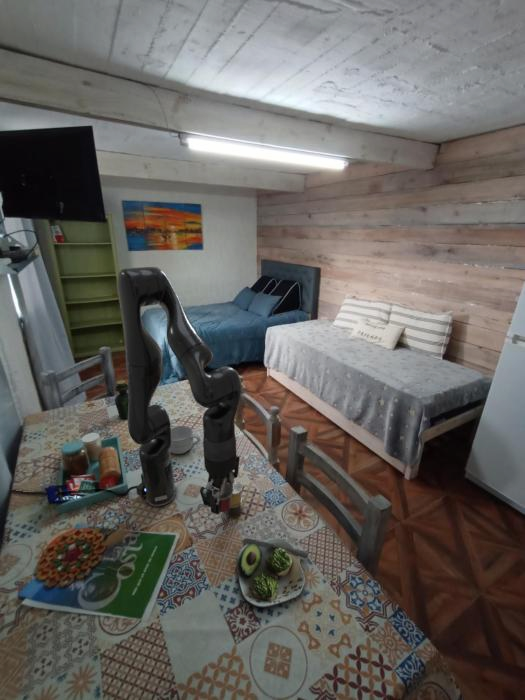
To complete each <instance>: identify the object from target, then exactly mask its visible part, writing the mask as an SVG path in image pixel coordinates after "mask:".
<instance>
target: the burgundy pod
mask: <svg viewBox="0 0 525 700" xmlns="http://www.w3.org/2000/svg"><path fill="white" fill-rule="evenodd" d="M214 488H216V487H214ZM216 489H218V488H216ZM218 490H219V489H218ZM232 494H233V486H232V485H231V484H230V483H229V482H226V483H225V484H224V489H223V494H221V495H220V501H219V502H220V513H227V512H226V511H228V510H229V509H230V508H231V506H232ZM213 497H215V498H216V495H215V494H213Z"/></svg>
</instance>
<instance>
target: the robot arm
mask: <svg viewBox="0 0 525 700" xmlns="http://www.w3.org/2000/svg"><path fill="white" fill-rule="evenodd" d="M116 281H117V283H116V284H117V285H116V286H117V296H118V301H119V307H120V312H121V319H122V325H123V334H124V348H125V349H124V350H125V367H126V368H125V369H126V377H127V385H128V390H127V393H128V395H129V402H128V419H127V429H128V433H129V437H130V438H131V439H132V441H133V442H134V443H135V444H137V445H140V446H139V449H138V455H139V461H140V467H141V472H142V473H140V479H141V483H139V484H138V485H133V486H131V487H128V488H127V490H126V491H118V490H116V491H115V492H112V493H113V494H116V495H119V496H122V495H127V494H129V493H130V492H131V490H136V495H137V496H140V497H142V498H143V497H144V498H145V499H146V502H147V504H148V505H150V506H151V507H156V508H157V507H164V506H165V505H168V504H169V503H171V502H172V501H173V500H174V499H175V498H176V494H177V490H176V484H175V476H174V467H173V460H172V454H171V453H172V452H170V447H171V428H172V427H171V420H170V416H169V414H168V412H167V410H166V408H164V407H163V406H162V405H160V404H152V405H151V402H152V399H153V398H154V395H155V393H156V391H157V389H158V387H159V385H160V383H161V380H162V377H163V372H164V371H163V369H164V367H163V366H164V365H163V364H164V363H163V352H162V348H161V347H160V345H159V343H157V341H156V339H155V338H153V336H152V335H151V334H150V333H149V332H148V330H147V329H146V327H145V325H144V322H143V319H142V308H143V307H149V306H156V305H159V306H160V307H162V309H163V310H164V313H165V314H166V340H167V343H168V346H169V349H170V350H171V352H172V353H173V354H174V356H175V357H176V359H177V360H178V362H179V363H180V364H181V366H182V368H183V370H184V373H185V376H186V378H187V382H188V384H189V388H190V391H191V394H192V397H193V399H194V401H195V402H196V403H197V404H198V405H200V406H201V407H203V408H206V410H205V411H204V412H203V414H202V431H203V439H202V443H203V444H202V445H203V446H202V447H203V461H204V462H203V463H204V468H205V471H206V473H207V474H208V478H207V484H206V485H205V487H204V486H201V487H200V489H199V493H200V497H201V500H202V504H203V505H204V506H206V507H209V508H210V512H211V513H212V514H215V515H220V514H221V512H220V502H219V501H220V495H221V494H223V489H224V484H225V483H226V482H229V483H230V484H231V485H232V486H233V484H234V480H235V479H237V478H238V476H239V470H240V469H239V468H240V456H238V455H237V437H236V427H235V426H236V424H235V417H236V414H237V410H238V407H239V402H240V398H241V395H242V380H241V377H240V374H239V373H238V371H237V370H236V369H235V368H233V367H231V366H226V365H225V366H221V367H218V368H216V369H213V370H211V371H209V372H206V371H205V368H206V367H207V366H209V364H210V363H212V360H213V357H214V355H213V352H212V350H211V348H210V347H209V346H208V344H207V343H206V342H205V340H204V338H203V337H202V336H201V335H200V333H199V331H197V330H196V328H195V326H194V325H193V323H192V321H191V320H190V318H189V316H188V315H187V312H186V311H185V308H184V306H183V304H182V302H181V300H180V298H179V296H178V294H177V292H176V290H175V288H174V287H173V284H172V283H171V281H170V278H168V275H167V274H166V273H165V272H164V270H162V269H161V268H159V267H157V266H141V267H129V268H127V267H126V268H123V269H121V270H120V271H119V272H118V275H117V279H116ZM214 487H216V488H218V489H219V490H218V489H216V488H214ZM12 489H14V490H12ZM12 489H10V492H11V493H18V494H27V495H46V494H45V492H43V490H42V491H40V490H39V491H35V490H34V492H23V491H24V490H22V489H21V490H22V491H16V490H17V489H15V488H12ZM213 494H215V495H216V498H215V497H213ZM232 495H233V494H232Z"/></svg>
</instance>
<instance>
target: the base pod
mask: <svg viewBox="0 0 525 700" xmlns="http://www.w3.org/2000/svg"><path fill="white" fill-rule="evenodd" d="M242 503H243V497H242V495H241V501H240V503H239V504H237V505H232V506H231V508H230V509H229V510H228V511H226V512H225V513H226V515H227V516H228V517H230V518H237V517H238V516H240V515H241V513H242Z"/></svg>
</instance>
